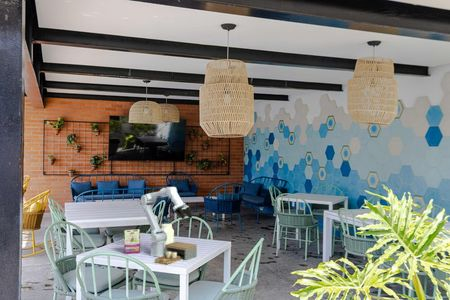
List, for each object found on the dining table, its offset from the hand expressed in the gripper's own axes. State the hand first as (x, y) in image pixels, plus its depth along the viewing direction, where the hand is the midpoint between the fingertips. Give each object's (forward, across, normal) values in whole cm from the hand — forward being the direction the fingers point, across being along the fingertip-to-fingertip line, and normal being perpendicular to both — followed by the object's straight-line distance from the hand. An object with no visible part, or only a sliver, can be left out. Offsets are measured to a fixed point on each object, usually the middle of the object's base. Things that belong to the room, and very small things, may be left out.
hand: (187, 217), depth 275 cm
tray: (+13, -2, +29) cm, 32 cm away
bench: (+12, +12, +29) cm, 33 cm away
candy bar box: (-12, +2, +56) cm, 58 cm away
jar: (-15, +37, +53) cm, 67 cm away
